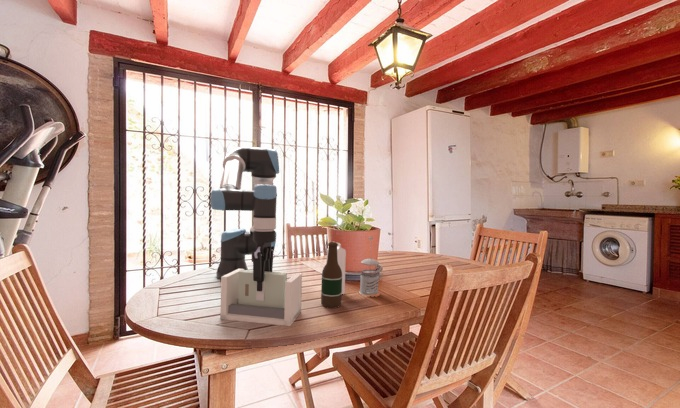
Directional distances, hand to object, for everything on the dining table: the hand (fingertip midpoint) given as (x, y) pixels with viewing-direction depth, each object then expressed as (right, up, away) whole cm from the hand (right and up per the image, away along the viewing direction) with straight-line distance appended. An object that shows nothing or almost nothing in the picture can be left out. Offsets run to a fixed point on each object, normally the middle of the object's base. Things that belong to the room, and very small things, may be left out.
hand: (262, 298), depth 105 cm
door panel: (0, -3, 0) cm, 3 cm away
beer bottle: (+23, -7, +13) cm, 27 cm away
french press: (+40, -7, +28) cm, 49 cm away
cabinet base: (0, -6, 0) cm, 6 cm away
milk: (+24, -6, +26) cm, 37 cm away
